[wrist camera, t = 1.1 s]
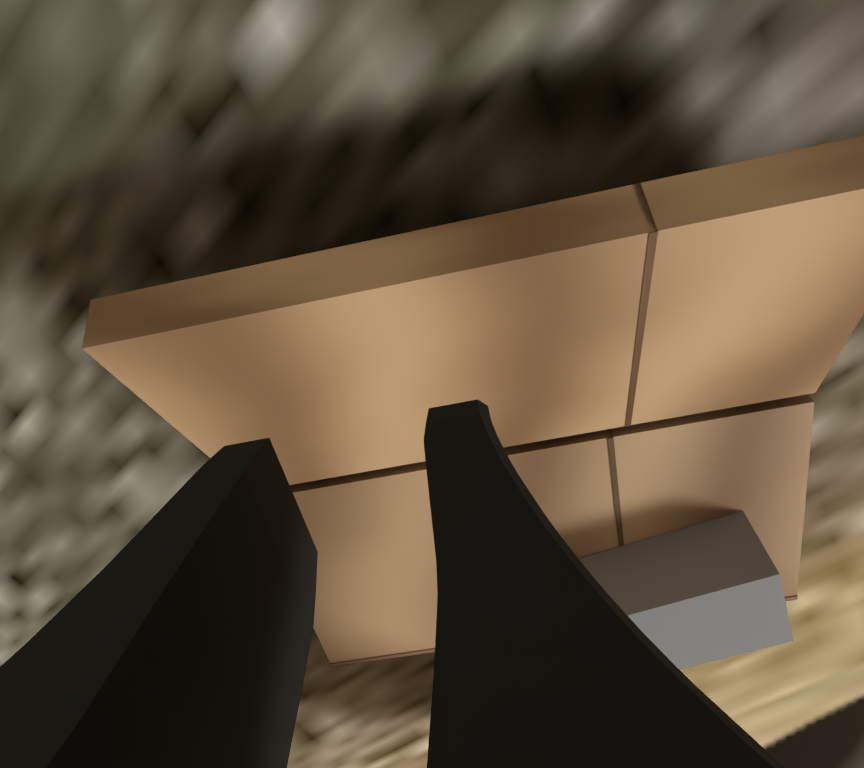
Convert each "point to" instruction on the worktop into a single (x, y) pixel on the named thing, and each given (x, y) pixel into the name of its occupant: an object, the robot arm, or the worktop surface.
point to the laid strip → (556, 512)
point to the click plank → (512, 318)
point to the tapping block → (698, 590)
